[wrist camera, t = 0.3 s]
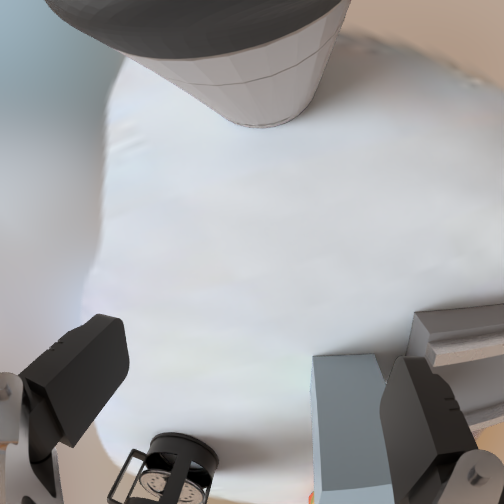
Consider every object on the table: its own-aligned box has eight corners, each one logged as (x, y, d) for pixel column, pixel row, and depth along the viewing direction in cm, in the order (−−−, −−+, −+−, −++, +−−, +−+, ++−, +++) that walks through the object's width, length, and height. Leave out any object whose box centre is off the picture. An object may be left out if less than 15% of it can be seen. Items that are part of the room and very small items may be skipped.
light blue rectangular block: (312, 356, 28) (321, 491, 14) (373, 353, 28) (416, 478, 13) (310, 391, 30) (314, 519, 15) (367, 388, 29) (397, 509, 14)
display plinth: (414, 312, 26) (438, 346, 20) (524, 301, 24) (554, 324, 19) (390, 413, 30) (402, 451, 24) (492, 393, 28) (512, 422, 22)
